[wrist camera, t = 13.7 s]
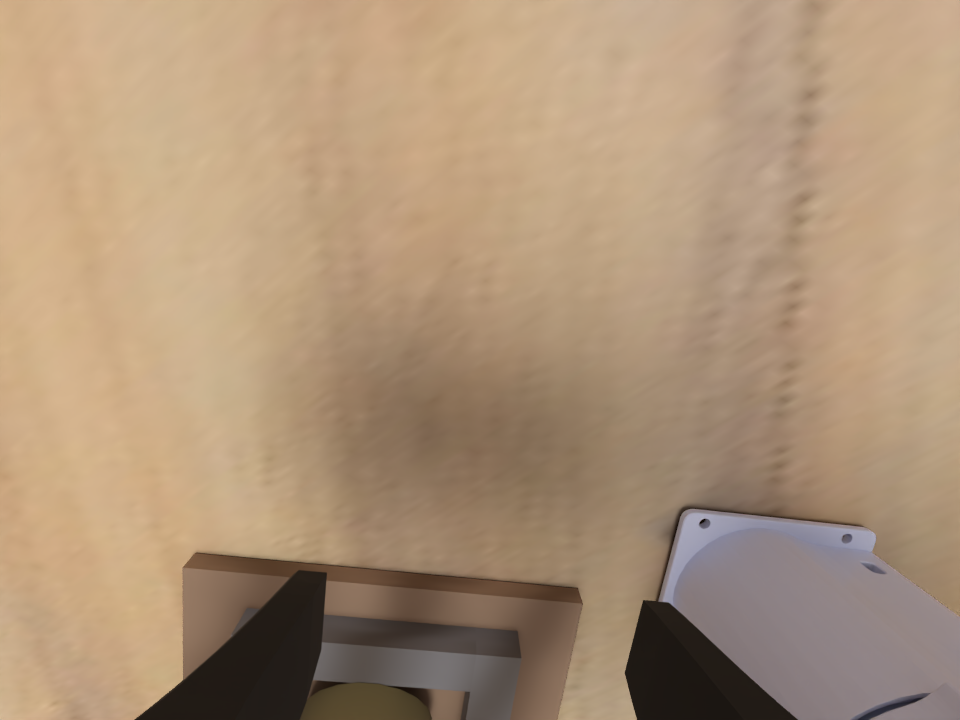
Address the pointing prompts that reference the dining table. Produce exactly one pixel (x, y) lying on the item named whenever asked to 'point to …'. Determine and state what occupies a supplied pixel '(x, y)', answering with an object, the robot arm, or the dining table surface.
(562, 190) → the dining table surface
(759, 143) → the dining table surface
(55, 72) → the dining table surface
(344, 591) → the socket board
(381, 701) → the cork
